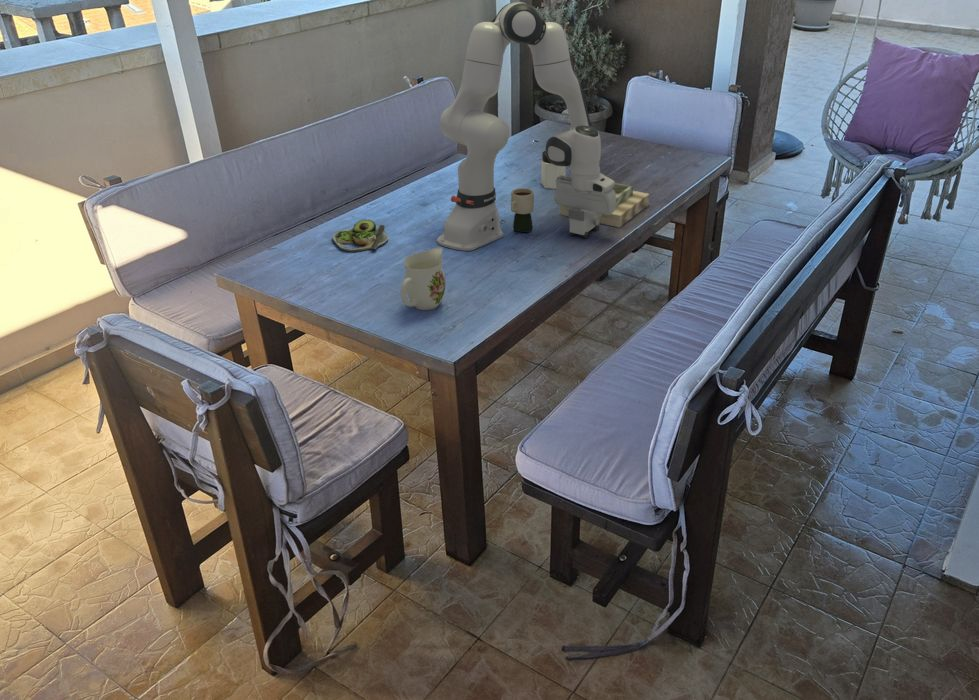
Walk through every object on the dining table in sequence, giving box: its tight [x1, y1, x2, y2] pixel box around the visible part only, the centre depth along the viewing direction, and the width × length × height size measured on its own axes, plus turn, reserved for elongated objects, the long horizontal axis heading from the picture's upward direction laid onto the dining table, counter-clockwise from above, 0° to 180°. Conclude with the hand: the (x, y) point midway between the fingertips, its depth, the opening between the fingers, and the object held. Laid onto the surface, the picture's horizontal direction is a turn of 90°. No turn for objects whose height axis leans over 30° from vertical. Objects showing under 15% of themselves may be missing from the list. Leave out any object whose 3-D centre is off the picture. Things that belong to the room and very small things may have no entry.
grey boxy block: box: [568, 208, 600, 239], centre depth 267 cm, size 11×6×10 cm, turn 146°
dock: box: [559, 182, 650, 228], centre depth 283 cm, size 22×22×7 cm
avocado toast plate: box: [331, 219, 389, 253], centre depth 268 cm, size 19×18×5 cm
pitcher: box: [400, 247, 446, 311], centre depth 227 cm, size 11×18×14 cm, turn 147°
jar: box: [540, 150, 567, 190], centre depth 303 cm, size 9×8×12 cm
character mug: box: [510, 187, 535, 233], centre depth 269 cm, size 11×7×13 cm, turn 139°
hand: (584, 221), depth 267 cm, fingers open, 7 cm apart
